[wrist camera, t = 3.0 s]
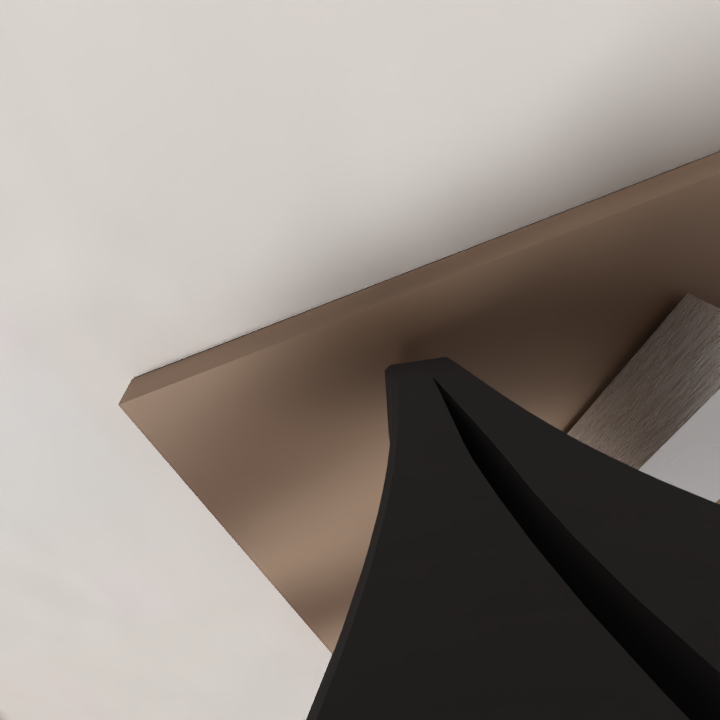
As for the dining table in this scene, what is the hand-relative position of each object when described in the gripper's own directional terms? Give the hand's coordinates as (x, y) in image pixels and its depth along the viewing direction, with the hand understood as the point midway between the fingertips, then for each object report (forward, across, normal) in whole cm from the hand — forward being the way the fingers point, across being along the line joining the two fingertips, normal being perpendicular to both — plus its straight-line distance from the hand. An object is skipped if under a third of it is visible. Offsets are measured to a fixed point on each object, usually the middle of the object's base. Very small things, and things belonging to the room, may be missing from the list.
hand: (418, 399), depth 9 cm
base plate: (+2, -6, +7) cm, 9 cm away
